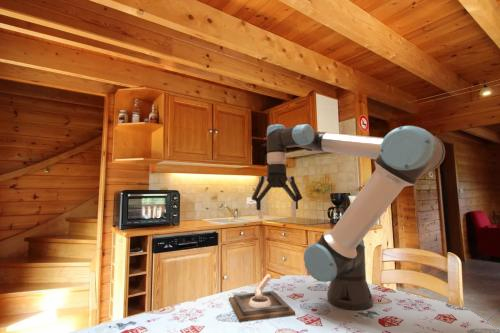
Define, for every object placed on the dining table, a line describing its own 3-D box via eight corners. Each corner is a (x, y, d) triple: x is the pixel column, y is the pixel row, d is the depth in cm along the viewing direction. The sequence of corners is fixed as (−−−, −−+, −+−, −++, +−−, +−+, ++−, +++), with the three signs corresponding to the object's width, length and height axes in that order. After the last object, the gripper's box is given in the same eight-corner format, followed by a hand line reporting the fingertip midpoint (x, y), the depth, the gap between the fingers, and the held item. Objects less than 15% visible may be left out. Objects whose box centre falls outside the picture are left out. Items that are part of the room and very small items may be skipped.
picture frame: (275, 295, 103) (275, 289, 103) (295, 315, 86) (295, 307, 86) (228, 300, 98) (228, 293, 99) (239, 322, 81) (239, 314, 81)
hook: (286, 291, 89) (269, 280, 88) (265, 321, 89) (247, 310, 88) (281, 280, 96) (265, 269, 95) (261, 307, 96) (246, 297, 95)
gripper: (301, 165, 114) (302, 216, 112) (243, 164, 108) (244, 218, 106) (309, 163, 107) (311, 218, 105) (248, 162, 101) (248, 220, 99)
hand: (277, 218), depth 105 cm, fingers open, 13 cm apart
